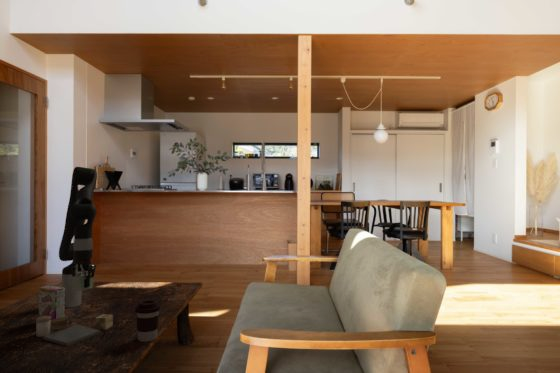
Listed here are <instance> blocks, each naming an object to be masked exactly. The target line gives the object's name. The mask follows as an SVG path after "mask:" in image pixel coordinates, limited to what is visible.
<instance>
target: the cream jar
mask: <svg viewBox="0 0 560 373" xmlns="http://www.w3.org/2000/svg"><path fill="white" fill-rule="evenodd" d="M50 321H51V316H41V317H39V316H37V317H36V318H35V322H36V326H35V327H36V330H35V332H36V334H35V335H36V337H38V338H40V337H41V338H43V336H46V335H49V334H51V331H50Z"/></svg>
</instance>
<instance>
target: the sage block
mask: <svg viewBox="0 0 560 373" xmlns="http://www.w3.org/2000/svg"><path fill="white" fill-rule="evenodd" d="M91 274H92V273H91ZM91 274H90V275H91ZM86 275H88V274H86ZM84 280H85V279H84V275H83V274H82V275H78V276H72V290H74V291H85V290H86V291H87V290H89V289H93V288H94V277H92V278H90V286H89V287H88V288H84Z"/></svg>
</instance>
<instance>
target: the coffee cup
mask: <svg viewBox="0 0 560 373" xmlns="http://www.w3.org/2000/svg"><path fill="white" fill-rule="evenodd" d="M161 308H162V307H161V304H160V303H158V302H157V301H156V300H153V299H149V300H142V301H140V302H139V303H138V304H137V305H135V307H134V312H135V313H136V315H135V316H136V317H135V318H136V320H135V321H136V330H137V339H138V340H137V341H139V342H142V343H148V342H153V341H154V340H156V339H157V338H158V337H157V336H158V329H159V322H160V321H159V320H160V312H159V311H160V310H161Z"/></svg>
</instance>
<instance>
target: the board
mask: <svg viewBox="0 0 560 373" xmlns="http://www.w3.org/2000/svg"><path fill="white" fill-rule="evenodd" d="M101 331H102V329H95V328H92V327H87V326H84V325H79V324H76V325H72V326H70V327H67V328H65V329H61V330H57V331H56V332H55V331H54V332H52V333H50V334H49V335H46V336H42V338H43V341H46V342H47V341H48V342H52V343H55V344H58V345H61V346H66V347H69V346H71V345H73V344H77V343H79V342H82V341H85V340H86V339H89V338H92V337H94V336H98V335H99V334H101Z"/></svg>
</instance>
